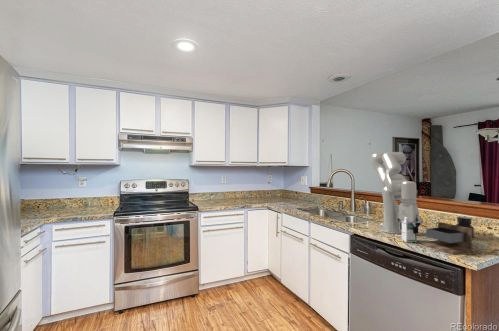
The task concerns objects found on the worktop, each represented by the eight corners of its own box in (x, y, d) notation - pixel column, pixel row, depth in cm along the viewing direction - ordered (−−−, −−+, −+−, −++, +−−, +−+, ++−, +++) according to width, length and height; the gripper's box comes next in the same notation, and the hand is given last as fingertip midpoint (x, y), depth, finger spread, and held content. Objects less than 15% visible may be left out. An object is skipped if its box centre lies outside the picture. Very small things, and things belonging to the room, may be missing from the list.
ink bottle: (470, 235, 154) (470, 217, 154) (477, 239, 146) (477, 219, 146) (452, 233, 158) (451, 215, 158) (457, 237, 150) (457, 218, 150)
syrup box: (406, 242, 138) (406, 217, 138) (401, 239, 144) (401, 215, 144) (416, 243, 137) (416, 218, 137) (411, 239, 143) (411, 216, 143)
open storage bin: (426, 236, 133) (426, 228, 133) (441, 234, 136) (441, 227, 136) (450, 243, 121) (450, 234, 121) (466, 241, 125) (466, 232, 125)
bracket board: (421, 244, 134) (421, 223, 134) (440, 242, 138) (439, 222, 139) (452, 254, 119) (452, 230, 119) (472, 251, 123) (472, 228, 123)
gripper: (391, 200, 148) (391, 228, 148) (418, 204, 131) (418, 235, 131) (400, 199, 150) (400, 227, 150) (428, 203, 134) (428, 234, 133)
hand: (408, 231), depth 141 cm, fingers closed on syrup box, 7 cm apart
